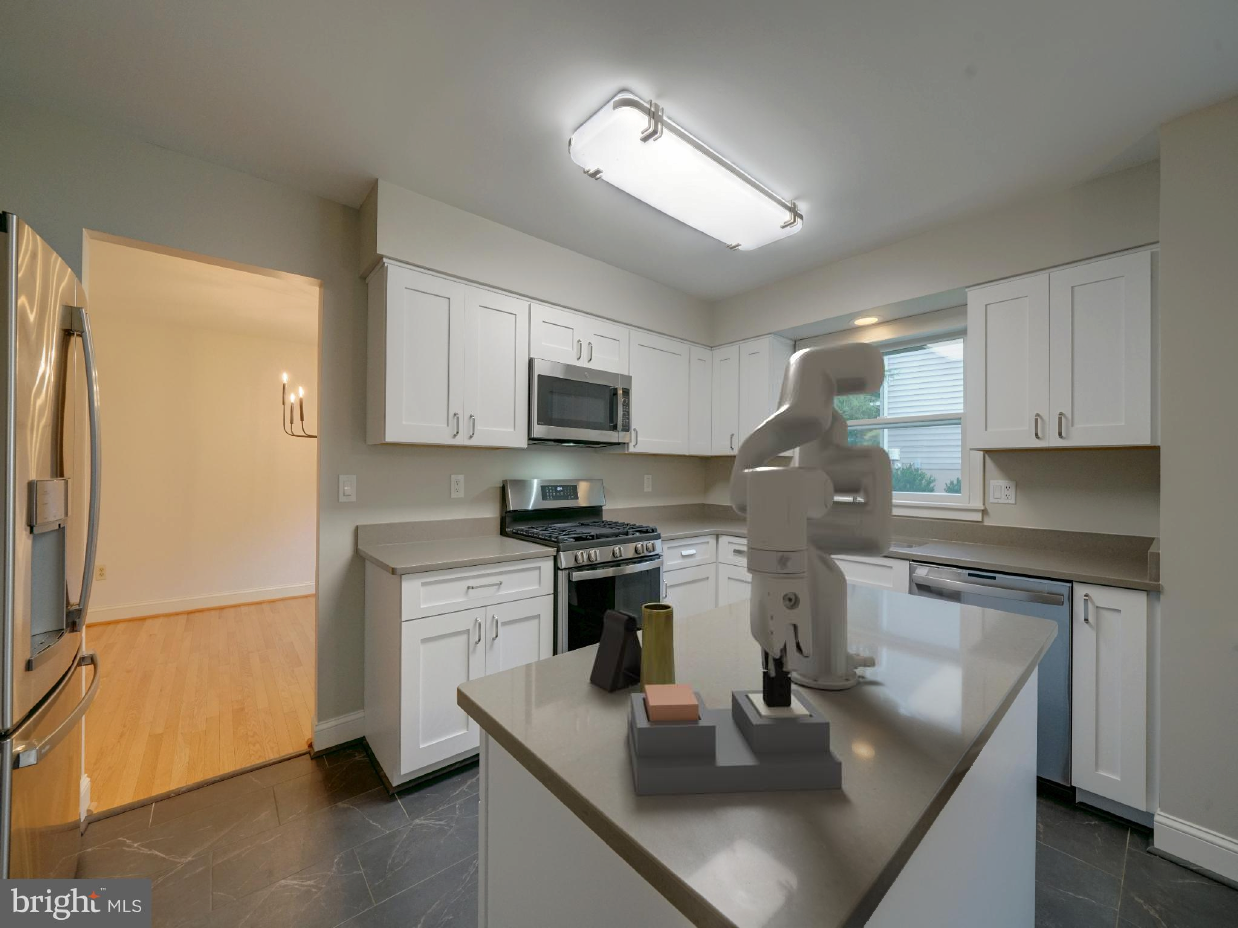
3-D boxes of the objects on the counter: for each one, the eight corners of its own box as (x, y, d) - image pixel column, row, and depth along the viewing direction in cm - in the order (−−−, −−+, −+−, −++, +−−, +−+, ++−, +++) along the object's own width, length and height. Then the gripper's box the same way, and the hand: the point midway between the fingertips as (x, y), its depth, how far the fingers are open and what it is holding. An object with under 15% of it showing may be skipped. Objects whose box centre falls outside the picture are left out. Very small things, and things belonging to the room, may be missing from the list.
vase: (665, 703, 81) (665, 613, 81) (632, 694, 84) (632, 608, 85) (682, 689, 86) (681, 605, 86) (650, 681, 89) (650, 600, 90)
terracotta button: (689, 706, 68) (689, 683, 69) (698, 728, 62) (698, 704, 63) (644, 707, 68) (644, 684, 68) (650, 729, 62) (650, 705, 62)
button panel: (793, 727, 73) (793, 682, 73) (841, 787, 59) (841, 731, 59) (627, 732, 72) (627, 686, 72) (636, 795, 58) (636, 737, 58)
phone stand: (609, 693, 85) (609, 621, 85) (589, 681, 90) (589, 613, 90) (650, 680, 90) (650, 612, 90) (629, 669, 95) (629, 605, 95)
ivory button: (791, 714, 69) (790, 692, 69) (810, 737, 63) (809, 713, 63) (747, 716, 69) (747, 693, 69) (762, 739, 63) (762, 714, 63)
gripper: (831, 572, 59) (832, 732, 59) (783, 553, 74) (783, 680, 74) (768, 572, 59) (768, 733, 58) (732, 553, 74) (732, 681, 73)
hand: (776, 703), depth 66 cm, fingers closed
